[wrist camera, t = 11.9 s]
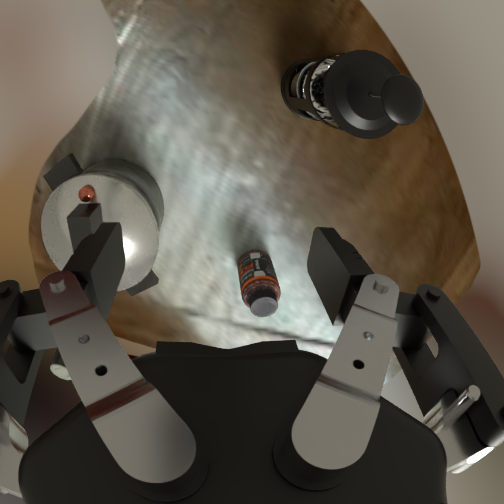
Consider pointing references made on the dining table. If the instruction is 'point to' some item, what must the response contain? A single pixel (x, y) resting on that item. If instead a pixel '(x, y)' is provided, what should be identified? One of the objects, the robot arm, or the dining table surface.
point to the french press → (354, 93)
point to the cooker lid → (100, 221)
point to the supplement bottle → (258, 283)
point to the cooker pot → (129, 175)
